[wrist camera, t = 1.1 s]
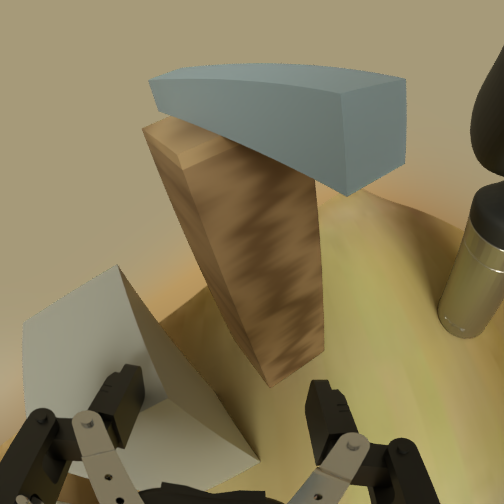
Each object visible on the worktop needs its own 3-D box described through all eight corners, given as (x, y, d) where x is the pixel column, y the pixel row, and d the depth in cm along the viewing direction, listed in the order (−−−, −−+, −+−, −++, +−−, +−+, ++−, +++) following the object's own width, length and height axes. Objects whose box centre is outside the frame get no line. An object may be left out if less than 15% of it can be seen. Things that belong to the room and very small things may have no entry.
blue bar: (190, 98, 27) (181, 68, 25) (405, 163, 10) (405, 78, 8) (158, 111, 26) (148, 80, 24) (347, 196, 9) (340, 93, 7)
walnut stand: (282, 307, 46) (233, 92, 25) (324, 350, 39) (305, 105, 18) (233, 338, 44) (141, 128, 22) (270, 388, 37) (177, 154, 15)
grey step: (214, 391, 38) (117, 264, 21) (260, 461, 29) (168, 397, 13) (154, 423, 35) (23, 322, 18) (191, 496, 27) (33, 459, 10)
